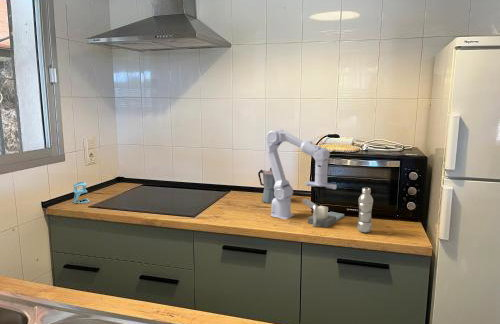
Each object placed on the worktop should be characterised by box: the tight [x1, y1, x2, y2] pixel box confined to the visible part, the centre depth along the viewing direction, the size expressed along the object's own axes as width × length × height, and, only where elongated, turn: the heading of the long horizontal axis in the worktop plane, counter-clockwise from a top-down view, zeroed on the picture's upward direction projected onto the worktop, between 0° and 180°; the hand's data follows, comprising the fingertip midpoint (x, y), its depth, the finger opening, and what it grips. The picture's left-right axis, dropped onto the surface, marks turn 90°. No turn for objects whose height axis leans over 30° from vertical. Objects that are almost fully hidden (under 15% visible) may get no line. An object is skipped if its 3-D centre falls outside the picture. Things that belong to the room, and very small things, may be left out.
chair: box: [72, 181, 91, 204], centre depth 218 cm, size 8×8×12 cm
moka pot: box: [257, 167, 275, 204], centre depth 219 cm, size 10×15×20 cm, turn 58°
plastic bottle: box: [356, 187, 374, 233], centre depth 169 cm, size 6×7×20 cm
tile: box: [328, 211, 345, 222], centre depth 190 cm, size 9×9×2 cm
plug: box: [318, 205, 329, 220], centre depth 181 cm, size 4×4×8 cm
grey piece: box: [302, 198, 319, 228], centre depth 181 cm, size 13×2×10 cm, turn 17°
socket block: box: [307, 214, 337, 228], centre depth 182 cm, size 10×10×3 cm
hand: (320, 202), depth 180 cm, fingers closed
